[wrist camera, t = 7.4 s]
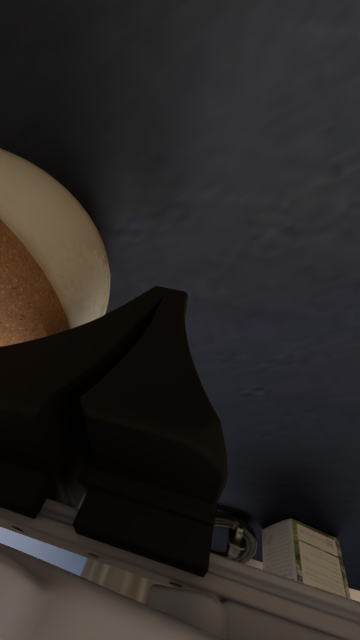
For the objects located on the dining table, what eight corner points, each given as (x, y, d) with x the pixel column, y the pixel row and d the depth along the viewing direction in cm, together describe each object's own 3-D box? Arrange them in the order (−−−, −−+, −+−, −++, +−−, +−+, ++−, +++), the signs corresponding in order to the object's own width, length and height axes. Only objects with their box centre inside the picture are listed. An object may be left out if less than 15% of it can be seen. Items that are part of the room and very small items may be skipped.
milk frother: (107, 458, 29) (7, 679, 17) (257, 483, 25) (258, 800, 13) (138, 513, 37) (83, 692, 25) (256, 540, 33) (256, 771, 21)
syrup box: (260, 528, 30) (262, 770, 19) (291, 515, 27) (318, 802, 15) (304, 548, 31) (332, 798, 19) (341, 537, 27) (404, 837, 16)
